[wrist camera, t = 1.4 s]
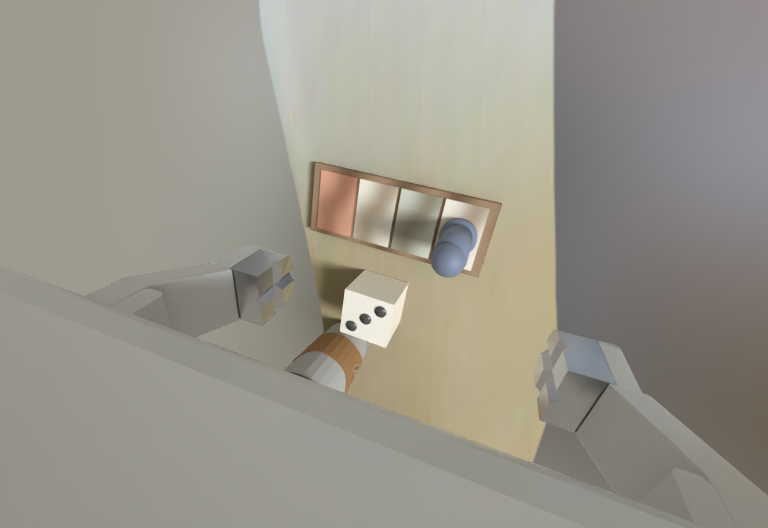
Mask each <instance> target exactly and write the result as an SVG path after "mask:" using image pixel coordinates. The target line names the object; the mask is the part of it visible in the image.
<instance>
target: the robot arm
mask: <svg viewBox="0 0 768 528" xmlns="http://www.w3.org/2000/svg"><path fill="white" fill-rule="evenodd" d="M292 269H293V260H292V258H291V257H290V256H287V255H284V254H280V253H277V252H273V251H270V250H267V249H263V248H260V247H256V246H252V245H247V246H246V247H244V248H242V249H240V250H238V251H237V252H235V253H233V254H231V255H229V256H228V257H226V258H224V259H222V260H220V261H219V262H217V263H215V264H211V263H208V264H201V265H196V266H190V267H184V268H178V269H172V270H167V271H162V272H155V273H149V274H143V275H138V276H132V277H127V278H123V279H120V280H118V281H116V282H114V283H112V284H110V285H108V286H105V287H103V288H101V289H99V290H97V291H95V292H93V293H90V294H88V295H86V296H83V295H80V294H77V293H75V292H72V291H69V290H66V289H64V288H61V287H58V286H56V285H53V284H50V283H47V282H45V281H42V280H40V279H37V278H34V277H32V276H29V275H26V274H24V273H21V272H18V271H15V270H13V269H10V268H7V267H5V266H2V265H0V528H768V496H767V495H766V494H765V493H763V492H762V491H761V490H760V489H759V488H757V487H756V486H755V485H754V484H753V483H751V481H749V480H748V479H747V478H746V477H745V476H743V475H742V474H741V473H740V472H739V471H738V470H736V469H735V468H734V467H733V466H732V465H731V464H729V463H728V462H727V461H726V460H724V459H723V458H722V457H721V456H720V455H718V453H716V452H715V451H714V450H713V449H712V448H711V447H709V446H708V445H707V444H706V443H705V442H703V441H702V440H701V439H700V438H699V437H698V436H696V435H695V434H694V433H693V432H692V431H691V430H689V429H688V428H687V427H686V426H685V425H683V424H682V423H681V422H680V421H679V420H678V419H676V418H675V417H674V416H673V415H671V414H670V413H669V412H668V411H667V410H666V409H664V408H663V407H662V406H661V405H660V404H659V403H657V402H656V401H655V400H654V399H653V398H652V397H650V396H649V395H646V394H643V393H642V392H641V390H640V388H639V386H638V384H637V382H636V380H635V378H634V376H633V374H632V372H631V370H630V367H629V366H628V363H627V361H626V359H625V357H624V355H623V353H622V351H621V349H620V348H619V347H618V346H616V345H613V344H609V343H605V342H600V341H596V340H591V339H588V338H584V337H579V336H576V335H572V334H568V333H564V332H560V331H556V330H554V331H553V332H552V333H551V334H550V336H549V338H548V340H547V343H548V350H546V351H544V352H542V353H541V354H540V357H539V359H538V361H537V365H536V369H535V386H536V387H537V388H538V390H539V391H540V394H539V396H538V398H537V403H538V411H539V419H540V420H541V421H544V422H546V423H549V424H552V425H555V426H558V427H560V428H563V429H565V430H569V431H571V432H574V433H575V436H576V437H577V438H578V440H579V441H580V443H581V444H582V446H583V447H584V449H585V450H586V452H587V453H588V455H589V456H590V458H591V459H592V461H593V462H594V464H595V465H596V466H597V468H598V469H599V471H600V472H601V474H602V475H603V477H604V478H605V480H606V481H607V483H608V484H609V486H610V487H611V489H612V490H613V491H614V493H612V492H610V491H607V490H604V489H601V488H599V487H596V486H593V485H591V484H588V483H585V482H582V481H580V480H577V479H575V478H572V477H569V476H566V475H564V474H561V473H558V472H556V471H553V470H550V469H548V468H545V467H542V466H540V465H537V464H534V463H532V462H529V461H526V460H524V459H521V458H518V457H515V456H513V455H510V454H507V453H505V452H502V451H499V450H497V449H494V448H491V447H489V446H486V445H483V444H481V443H478V442H475V441H472V440H470V439H467V438H464V437H462V436H459V435H456V434H454V433H451V432H448V431H446V430H443V429H440V428H438V427H435V426H432V425H429V424H427V423H424V422H421V421H419V420H416V419H413V418H411V417H408V416H405V415H403V414H400V413H397V412H395V411H392V410H389V409H387V408H384V407H381V406H378V405H376V404H373V403H370V402H368V401H365V400H362V399H360V398H357V397H354V396H352V395H349V394H346V393H344V392H341V391H338V390H336V389H333V388H330V387H328V386H325V385H322V384H319V383H317V382H314V381H311V380H309V379H306V378H303V377H301V376H298V375H295V374H293V373H290V372H287V371H284V370H282V369H279V368H276V367H274V366H271V365H268V364H265V363H263V362H260V361H257V360H255V359H252V358H249V357H246V356H244V355H241V354H238V353H236V352H233V351H230V350H227V349H225V348H222V347H219V346H217V345H214V344H211V343H209V342H206V341H203V340H201V339H198V338H196V337H198V336H200V335H203V334H205V333H208V332H210V331H212V330H215V329H217V328H220V327H222V326H225V325H227V324H230V323H232V322H234V321H237V320H239V318H240V319H243V320H246V321H250V322H253V323H256V324H259V325H263V324H264V323H265V322H267V321H268V320H269V319H270V318H271V317H272V316H273V315H274V314H275V308H277V307H281V306H284V305H285V304H286V303H287V302H288V301H289V299H290V297H291V295H292V293H293V289H294V279H293V278H292V276H291V275H290V272H291V271H292Z"/></svg>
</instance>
